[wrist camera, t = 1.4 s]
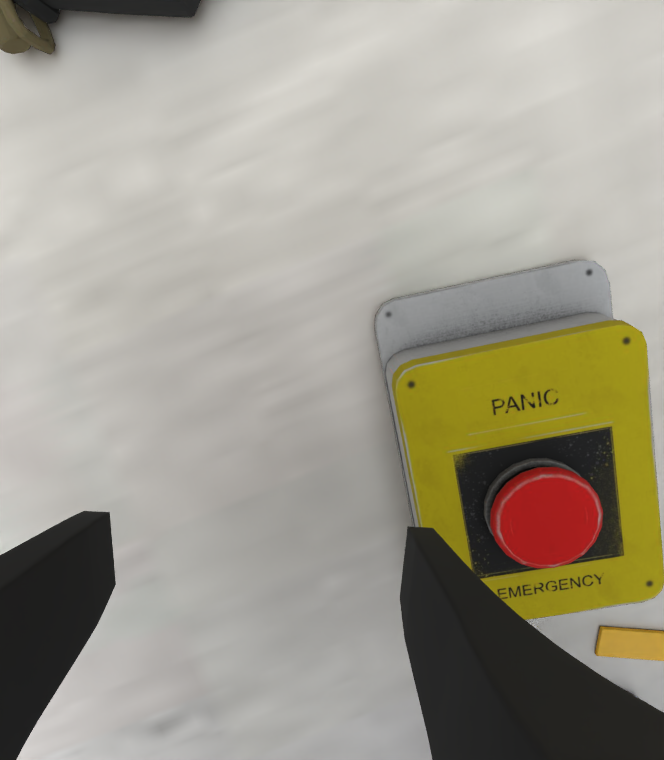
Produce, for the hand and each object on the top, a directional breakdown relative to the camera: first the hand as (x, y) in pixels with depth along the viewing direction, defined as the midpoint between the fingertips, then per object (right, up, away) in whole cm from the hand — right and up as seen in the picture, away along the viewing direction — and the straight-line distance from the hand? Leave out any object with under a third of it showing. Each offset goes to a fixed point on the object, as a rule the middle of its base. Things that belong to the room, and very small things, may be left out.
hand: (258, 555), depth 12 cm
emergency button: (+9, +1, +10) cm, 14 cm away
